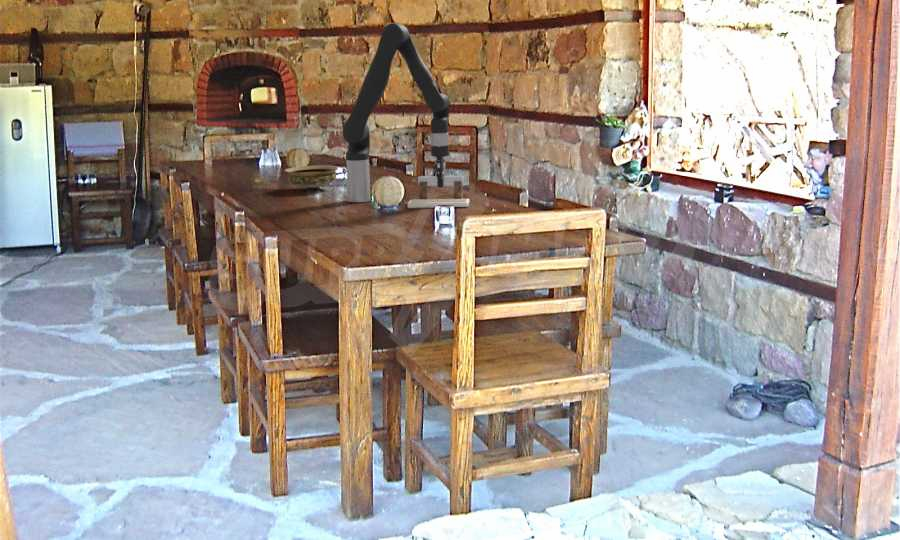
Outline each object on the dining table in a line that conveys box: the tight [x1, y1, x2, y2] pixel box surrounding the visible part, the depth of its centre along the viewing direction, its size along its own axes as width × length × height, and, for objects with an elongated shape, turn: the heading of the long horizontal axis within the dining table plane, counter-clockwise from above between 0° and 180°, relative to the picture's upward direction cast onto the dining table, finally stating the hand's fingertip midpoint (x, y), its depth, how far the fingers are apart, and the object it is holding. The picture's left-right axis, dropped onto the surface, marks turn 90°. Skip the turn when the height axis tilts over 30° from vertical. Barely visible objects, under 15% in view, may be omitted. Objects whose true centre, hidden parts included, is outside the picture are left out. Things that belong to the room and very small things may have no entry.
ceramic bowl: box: [284, 164, 339, 192], centre depth 439 cm, size 30×24×10 cm
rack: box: [418, 182, 464, 199], centre depth 394 cm, size 20×6×9 cm, turn 84°
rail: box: [417, 175, 465, 187], centre depth 393 cm, size 18×4×4 cm, turn 84°
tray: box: [407, 198, 471, 209], centre depth 385 cm, size 24×10×2 cm, turn 84°
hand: (441, 186), depth 393 cm, fingers open, 5 cm apart
